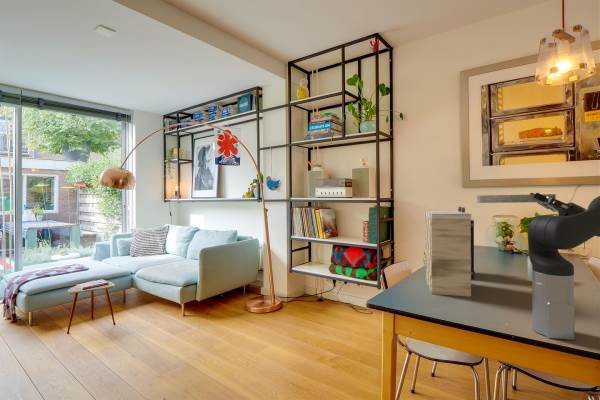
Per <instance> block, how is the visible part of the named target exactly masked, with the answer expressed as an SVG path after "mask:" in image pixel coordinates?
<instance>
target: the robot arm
mask: <svg viewBox="0 0 600 400" xmlns="http://www.w3.org/2000/svg"><path fill="white" fill-rule="evenodd" d="M533 194H535V195H534V196H533V197H534V198H535V199H538V200H540V201H542V202H536V204H537V205H540V206H541V207H543V208H545V209H546V210H550V211H551V212H553V213H558V214H557V215H549V214H539V215H536V216H534V217H533V218H532V219H531V220H530V222H529V224H528V226H527V244H528V245H527V248H528V256H529V259H530V261H531V263H532V282H531V283H532V284H531V285H532V286H531V288H532V289H531V294H532V295H531V297H532V298H531V301H532V303H531V304H532V305H531V306H532V307H531V308H532V309H531V313H532V314H531V318H532V319H531V320H532V322H531V323H532V324H531V325H532V330H533V331H534V332H535V333H537V334H540V335H541V336H544V337H546V338H547V339H559V340H569V341H570V340H571V341H575V267H574V264H573V263H572V262H570V261H569V260H567V259H566V258H565V257H563V256H562V255H561V253H560V252H559V250H561V251H563V250H564V251H567V250H572V249H574V248H578V247H579V246H580V245H583V244H584V243H585V242H587V241H589V240H591V239H592V238H594V237H599V238H600V195H599V196H597V197H595V198H594V199H592V200H591V201H590V203H589V204H588V207H587V208H585V207H583V206H582V205H581V206H580V205H579V204H576V203H574V202H568V203H566V202H563V201H561V200H559V199H554V198H550V197H547V198H546V196H544V195H542V194H541V193H540V192H535V193H534V192H530V193H529V194H528V195H533Z"/></svg>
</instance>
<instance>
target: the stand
mask: <svg viewBox="0 0 600 400" xmlns="http://www.w3.org/2000/svg"><path fill="white" fill-rule="evenodd" d="M471 220H472V213H469V212H466V207H464V206H463V207H462V206H458V209H457V210H424V223H425V225H424V229H425V230H424V231H425V232H424V236H425V237H424V241H425V242H424V243H425V244H424V245H425V246H424V247H425V249H424V251H425V252H424V253H425V255H424V256H425V282H426V284H427V287H428V286H429V287H428V289H429V291H430V293H431V294H432V295H443V296H456V297H457V296H458V297H459V296H460V297H472V281H471V280H472V278H471Z"/></svg>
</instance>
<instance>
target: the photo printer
mask: <svg viewBox="0 0 600 400" xmlns="http://www.w3.org/2000/svg"><path fill="white" fill-rule="evenodd" d="M526 280H527V281H528V282H531V283H532V263H531V261H530V259H529V255H528V256H527V260H526Z"/></svg>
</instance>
